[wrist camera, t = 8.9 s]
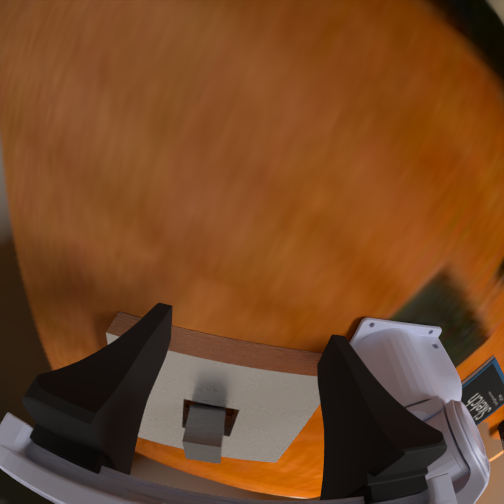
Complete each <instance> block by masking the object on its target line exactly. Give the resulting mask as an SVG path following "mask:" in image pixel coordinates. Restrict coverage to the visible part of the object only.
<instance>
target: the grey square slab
mask: <svg viewBox="0 0 504 504" xmlns="http://www.w3.org/2000/svg"><path fill="white" fill-rule="evenodd" d="M141 319H142V318H140V317H136V316H133V315H129V314H126V313H122V312H119V313H118V314H117V316H116V317H115V319H114V320H113V322H112V324H111V325H110V327H109V328H108V330H107V332H106V336H107V342H108V345H109V344H110V343H112V342H113V341H114V340H116V339H117V338H118V337H120V336H121V335H122V334H124V333H125V332H126V331H128V330H129V329H130V328H131V327H132V326H134V325H135V324H136V323H137V322H138V321H139V320H141ZM322 354H323V353H317V352H309V351H302V350H295V349H288V348H282V347H275V346H269V345H263V344H257V343H252V342H246V341H241V340H235V339H230V338H225V337H220V336H215V335H211V334H206V333H201V332H197V331H192V330H188V329H184V328H179V327H175V326H172V327H171V341H170V344H169V348H168V351H167V355H166V358H165V360H164V363H163V365H162V367H161V370H160V372H159V374H158V377H157V379H156V381H155V384H154V386H153V388H152V391H151V393H150V395H149V398H148V401H147V404H146V407H145V411H144V414H143V418H142V422H141V425H140V429H139V433H138V437H140V438H143V439H147V440H150V441H154V442H158V443H161V444H165V445H169V446H173V447H177V448H181V449H184V447H183V442H182V440H183V436H184V431H185V427H186V422H187V418H188V414H189V409H190V408H187V400H191V401H196V402H200V403H205V404H210V405H215V406H221V407H226V408H232V409H234V412H233V415H232V416H228V415H226V417H225V430H224V438H223V446H222V454H221V456H223V457H230V458H237V459H245V460H253V461H264V462H277V460H278V459H279V458H280V457H281V456H282V454H283V453H284V452H285V451H286V449H287V448H288V447H289V445H290V444H291V443H292V442H293V440H294V439H295V438H296V436H297V435H298V434H299V432H300V431H301V430H302V428H303V427H304V425H305V424H306V423H307V421H308V420H309V419H310V417H311V416H312V414H313V413H314V411H315V410H316V409H317V407H318V406H319V404H320V396H319V390H318V380H317V364H318V362H319V360H320V358H321V356H322Z"/></svg>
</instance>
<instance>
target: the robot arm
mask: <svg viewBox="0 0 504 504" xmlns="http://www.w3.org/2000/svg"><path fill="white" fill-rule="evenodd" d="M371 323H373V324H371ZM370 324H371V325H370ZM171 327H172V306H171V305H167V304H162V303H158V304H156V305H155V306H154V307H153V308H152V309H151V310H150V311H149V312H148V313H147V314H146V315H145V316H144V317H143V318H142V319H141V320H139V321H138V322H137V323H136V324H135V325H134V326H132V327H131V328H130V329H129V330H128V331H126V332H125V333H124V334H122V335H121V336H120V337H118V338H117V339H116V340H114V341H113V342H112V343H110V344H109V345H107V346H106V347H104V348H102V349H101V350H99V351H97V352H96V353H94V354H92V355H90V356H88V357H86V358H84V359H82V360H80V361H78V362H76V363H73V364H71V365H68V366H66V367H63V368H60V369H57V370H54V371H51V372H47V373H44V374H40V375H38V376H37V377H36V378H35V380H34V381H33V382H32V384H31V385H30V387H29V389H28V390H27V392H26V394H25V396H24V397H23V404H24V406H25V408H26V409H27V411H28V412H29V414H30V415H31V417H32V418H33V419H34V421H35V422H36V423H37V424H36V426H35V427H34V429H33V428H32V427H31V426H29V425H28V424H27V423H25V422H23V421H22V420H20V419H19V418H17V417H15V416H14V415H12V414H11V413H7V414H6V416H5V417H4V419H3V421H2V423H1V425H0V468H1V469H2V470H3V471H5V472H6V473H7V474H9V475H10V476H11V477H13V478H14V479H15V480H17V481H19V482H20V483H22V484H23V485H25V486H26V487H28V488H30V489H31V490H33V491H34V492H36V493H38V494H39V495H41V496H43V497H45V498H47V499H48V500H50V501H52V502H54V503H56V504H163V503H165V504H475V503H476V501H477V500H478V498H479V497H480V495H481V494H482V493H483V491H484V490H485V488H486V486H487V484H488V482H489V475H490V463H489V460H488V458H487V455H486V452H485V448H484V444H483V441H482V438H481V436H480V434H479V431H478V429H477V426H476V424H475V422H474V420H473V418H472V416H471V415H470V413H469V411H468V409H467V408H466V406H465V405H464V404H463V403H462V402H461V397H462V385H461V380H460V377H459V375H458V373H457V371H456V369H455V367H454V365H453V364H452V362H451V360H450V358H449V356H448V354H447V353H446V351H445V349H444V347H443V346H442V344H441V342H440V340H439V339H438V337H439V335H440V334H441V332H442V330H441V328H440V327H436V326H427V325H419V324H411V323H404V322H396V321H389V320H382V319H375V318H364V319H362V321H361V322H360V324H359V326H358V328H357V330H356V332H355V334H354V335H353V337H352V339H351V341H350V343H349V342H348V340H347V339H346V338H345V337H344V336H339V335H332V336H331V338H330V340H329V342H328V344H327V346H326V348H325V350H324V352H323V354H322V356H321V358H320V360H319V362H318V364H317V380H318V390H319V396H320V403H321V409H322V416H323V423H324V469H323V481H322V489H321V497H320V500H318V501H271V500H269V501H268V500H253V499H242V498H233V497H224V496H217V495H211V494H204V493H199V492H193V491H188V490H183V489H179V488H174V487H170V486H166V485H161V484H158V483H154V482H150V481H147V480H144V479H140V478H137V477H133V476H131V475H130V471H131V466H132V461H133V456H134V451H135V446H136V442H137V437H138V433H139V429H140V425H141V422H142V418H143V414H144V411H145V407H146V404H147V401H148V398H149V395H150V393H151V391H152V388H153V386H154V384H155V381H156V379H157V377H158V374H159V372H160V370H161V367H162V365H163V363H164V360H165V358H166V355H167V351H168V348H169V344H170V341H171Z"/></svg>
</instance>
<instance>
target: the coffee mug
mask: <svg viewBox="0 0 504 504" xmlns="http://www.w3.org/2000/svg"><path fill="white" fill-rule="evenodd" d="M498 431H499V434H500V438H501V442H502V446H503V450H504V421H503V422H502V423H501V424H500V425H499V426H498Z"/></svg>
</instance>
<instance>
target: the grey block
mask: <svg viewBox="0 0 504 504" xmlns="http://www.w3.org/2000/svg"><path fill="white" fill-rule="evenodd" d="M225 417H226V409H224V407H221V406H215V405H210V404H205V403H200V402H195V404H191V405H190V409H189V414H188V418H187V422H186V427H185V431H184V436H183V440H182V442H183V447H184V451H185V456H186V458H187V459H193V460H199V461H205V462H212V463H220V462H221V454H222V446H223V438H224V430H225Z"/></svg>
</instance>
